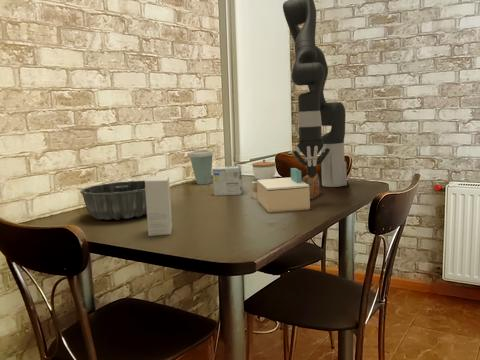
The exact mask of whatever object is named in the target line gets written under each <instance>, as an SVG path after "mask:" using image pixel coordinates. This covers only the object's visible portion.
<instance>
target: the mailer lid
mask: <svg viewBox="0 0 480 360" xmlns="http://www.w3.org/2000/svg"><path fill="white" fill-rule="evenodd" d="M302 179H303V178H302V170H301V169H299V168H296V167H290V176H289V177H279V178H272V179H262V180H258V179H256V181H257V182H258V183H259V184H260V185H261V186H263V187H264V188H265V189H266V190H278V189H290V188H303V187H309V185H308V184H306V183H304V182H303V181H302Z"/></svg>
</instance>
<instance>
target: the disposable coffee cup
mask: <svg viewBox="0 0 480 360" xmlns="http://www.w3.org/2000/svg"><path fill="white" fill-rule="evenodd" d="M213 155H214V154H213V152H212V151H211V149H197V150H194V151H190V154H189V155H188V156H189V157H190V158H189V159H190V163H191V167H192V170H193V174H194V175H193V176H194V178H195V182H196V184H197V185H207V184H211V182H212V175H213V172H212V169H213Z"/></svg>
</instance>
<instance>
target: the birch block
mask: <svg viewBox="0 0 480 360" xmlns="http://www.w3.org/2000/svg"><path fill="white" fill-rule="evenodd" d="M250 183H251V184H250V185H251V198H252V197H253V198H254V199H253V198H252V199H253V200H258V193H257V180H253V181H251V182H250Z"/></svg>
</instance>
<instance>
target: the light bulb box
mask: <svg viewBox="0 0 480 360" xmlns="http://www.w3.org/2000/svg"><path fill="white" fill-rule="evenodd" d="M241 170H242V167H241V165H231V166H227V165H226V166H214V167H212V181H213V182H212V184H213V196H215V197H216V196H240V195H241V194H242V192H243V183H242V171H241Z"/></svg>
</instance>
